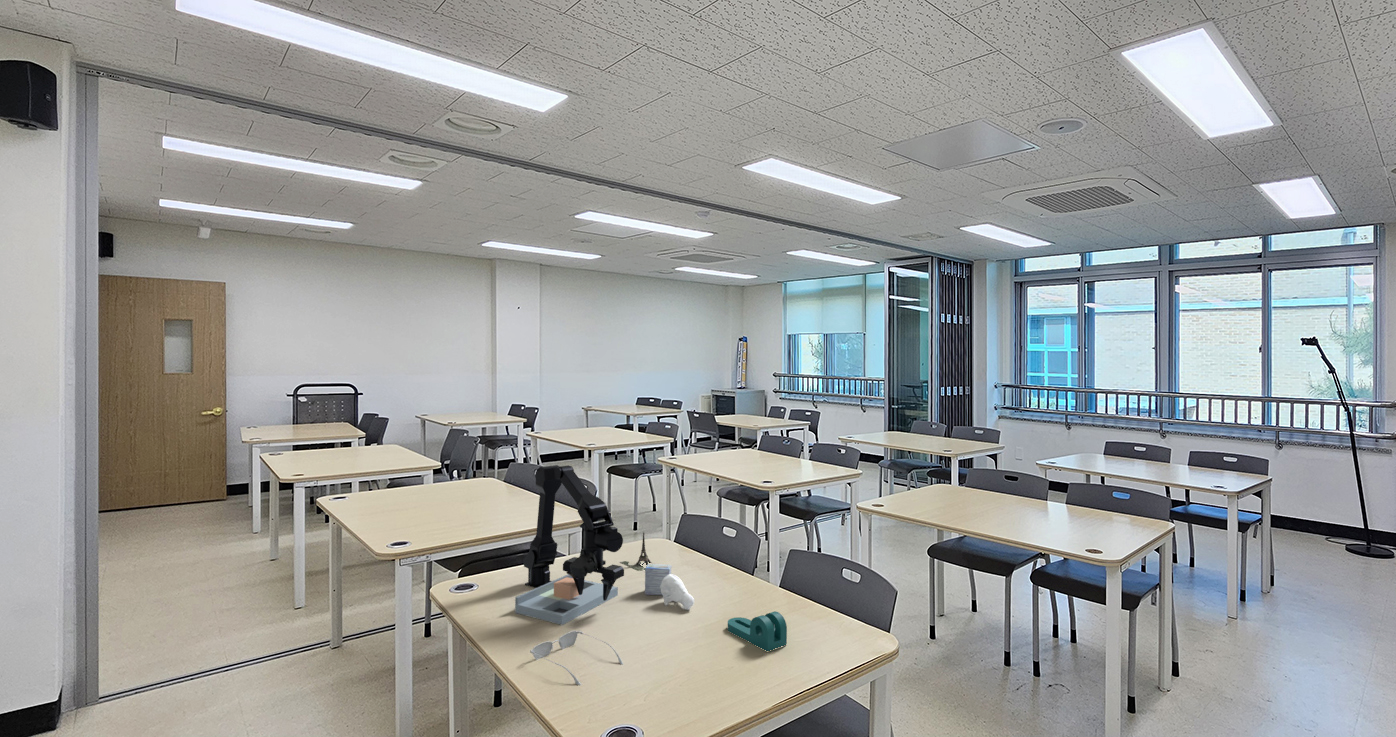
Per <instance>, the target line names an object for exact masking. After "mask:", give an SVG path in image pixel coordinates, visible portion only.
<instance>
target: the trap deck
mask: <svg viewBox="0 0 1396 737" xmlns="http://www.w3.org/2000/svg"><path fill="white" fill-rule="evenodd" d="M566 577H568V578H573V577H572V576H570V575H569V574H566V575H564V576H561V577H559V578H557V579H554V580H550V581H551V582H549V583H547V584H545V585H542V586H540V587H538V588H535V587H534V588H533V589H531V590H529V591H527V592H524V593H522V594H520V595H517V596H515V597H514V598H515V599H514V601H515V603H514V604H515V605H514V606H515V607H514V613H515V614H519V615H522V616H527V617H530V618H535V619H537V620H542V621H546V622H550V623H553V624H558V625H561V626H564V625H565V624H567V623H568V622H570V621H573V620H574V619H577V618H578V617H580V616H581V615H583V614H585V613H587V612H589V611H591V610H593V609H595V608H597V607H599V606H600V605H602V604H604V603H606V602H607V601H610V600H612V599H613V598H615V597H617V596H618V594H619V593H618V592H619V591H618V590H619V588H618V587H617V586H614V585H613V586H612V589H611V591H610V593H609V595H608V598H607V600H605V601H604V600H603V583H599V582H596V581H595V582H594V581H590V580H585V579H584V588H583V593H582V595H578V596H576V597H574V598H572V599H570V600H568V599H563V598H559V597H555V596H554V583H555V582H557V581H559V580H562V579H564V578H566Z"/></svg>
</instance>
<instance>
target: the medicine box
mask: <svg viewBox="0 0 1396 737" xmlns="http://www.w3.org/2000/svg"><path fill="white" fill-rule="evenodd" d="M669 574H672V564H664V563H663V564H662V563H661V564H660V563H652V564H648V565H647V566H646V568H645V571H644V595H645V596H646V595H647V596H648V595H650V596H663V594H662V593H661V588H660V585H661V584H662V580H663V579H664V578H665V577H666V576H667V575H669Z"/></svg>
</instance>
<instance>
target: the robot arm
mask: <svg viewBox="0 0 1396 737" xmlns="http://www.w3.org/2000/svg"><path fill="white" fill-rule="evenodd" d="M535 485H536V487H537V489H538V492H539V500H538V510H537V520H536V521H537V524H536V535H535V537H534V538H533V539H532V541H531V542H530V545H529V551H528V553H527V554H526V555H525V557H524V558H523V560H522V562H523V567H524V568H527V570H528V574H527V575H528V577H527V578H528V580H527V581H528V582H525V583H524V586H526V587H531V588H534V589H535V588H538V587H540V586H542V585H545V584H547V583H549V582H551V581H552V580H551V571H550V566H551V565H554V564H555V560H556V556H557V555H558V551H557V550H558V543H557V542H555V540H554V538H553V527H554V525H553V524H554V515H555V504H556V494H557V493H558V491H559V490H560V488H561V487H562V485H563V486H564V488H565V490H566V491H567V493H569V495H570V496H571V497H572V499H573V500H574V502H575V503H576V505H577V513H578V516H579V517H580V519H581V521H582V523H580V524H579V527H580V528H581V529H583V548H582V549H580V554H579V556H578V557H576V556H574V557H571V558H568V559H566V560H564V562H563V563H562V571H564V572H566V575H568V574H569V575H570V576H572V577H573V579H574V582H575V584H576V587H577V590H578V593H579V595H582V593H583V588H584V580H585V578H586V577H587V576H588V574H592V573H597V574H601V577H602V579H601V580H600V581H601V584H603V600H604V601H605V600H607V598H608V595H609V593H610V591H611V589H612V586H614V584H615V582H616V581H617V580H618V579H620V578H623V577H624V576H625V569H624V567H623V566H622V565H618V564H617V565H616V564H611V565H608V566H604V565H606V563H607V562H606V560H604V552H605V551H608V552H611V553H616V552H618V551H619V550H621V548H622V546H623V542H624V538H623V535H622V533H620V532H618V527H615V526H614V525H615V524H614V521H613V518H612V516H611V513H610V512H609V511H610V510H609V509H608V507H607V505H606V503H605V502H604V501H603V500H602V499H601V498H600V497H598V496H596V495H594V494H592V493H591V491H589V489H588V488H587V487H586V485H585V484H584V483H583V481H582V480H581V479H580V477H579V476H578V475H577V474H576V472H575V470H574V467H573V466H572V465H558V464H554V465H546V466H539V467H538V468H537V469H536V470H535Z"/></svg>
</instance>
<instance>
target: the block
mask: <svg viewBox="0 0 1396 737" xmlns="http://www.w3.org/2000/svg"><path fill="white" fill-rule="evenodd" d="M578 595H579V593H578V590H577V587H576V584H575V582H574V579H573V578H568V577H566V578H564V579H562V580H559V581H557V582H555V583H554V596H555V597H559V598H563V599H568V600H570V599H572V598H574V597H576V596H578Z"/></svg>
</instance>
